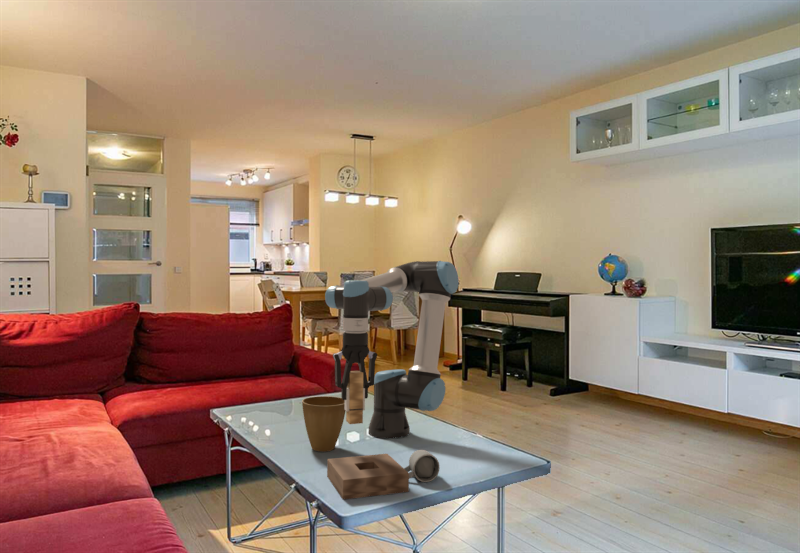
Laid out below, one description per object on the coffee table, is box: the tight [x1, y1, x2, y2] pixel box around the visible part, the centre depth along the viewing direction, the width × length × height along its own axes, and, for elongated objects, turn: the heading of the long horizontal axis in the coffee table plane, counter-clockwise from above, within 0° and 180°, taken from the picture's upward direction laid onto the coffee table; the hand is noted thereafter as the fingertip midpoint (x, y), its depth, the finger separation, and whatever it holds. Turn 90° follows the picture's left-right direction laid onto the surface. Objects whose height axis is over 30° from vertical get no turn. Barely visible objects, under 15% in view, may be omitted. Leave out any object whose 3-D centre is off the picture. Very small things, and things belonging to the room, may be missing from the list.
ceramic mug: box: [403, 449, 441, 483], centre depth 164 cm, size 11×8×8 cm
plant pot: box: [301, 395, 346, 452], centre depth 191 cm, size 15×15×16 cm
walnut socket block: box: [326, 453, 410, 500], centre depth 159 cm, size 18×18×5 cm
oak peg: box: [345, 370, 364, 425], centre depth 172 cm, size 4×4×15 cm
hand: (354, 409), depth 172 cm, fingers closed on oak peg, 4 cm apart
